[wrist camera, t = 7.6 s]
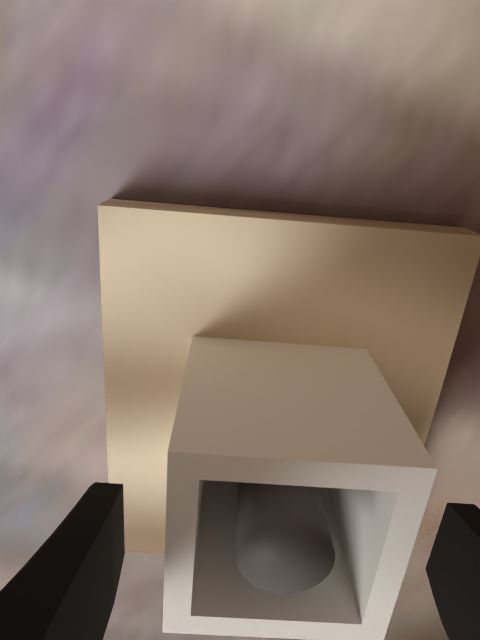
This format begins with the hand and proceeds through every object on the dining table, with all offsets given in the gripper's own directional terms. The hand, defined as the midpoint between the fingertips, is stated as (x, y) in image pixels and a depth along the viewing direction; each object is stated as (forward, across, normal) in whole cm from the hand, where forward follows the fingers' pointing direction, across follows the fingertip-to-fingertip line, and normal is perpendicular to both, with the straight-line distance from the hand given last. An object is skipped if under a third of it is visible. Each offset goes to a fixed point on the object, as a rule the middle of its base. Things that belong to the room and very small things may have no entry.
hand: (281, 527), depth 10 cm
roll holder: (+5, 0, 0) cm, 5 cm away
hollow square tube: (+4, 0, 0) cm, 4 cm away
